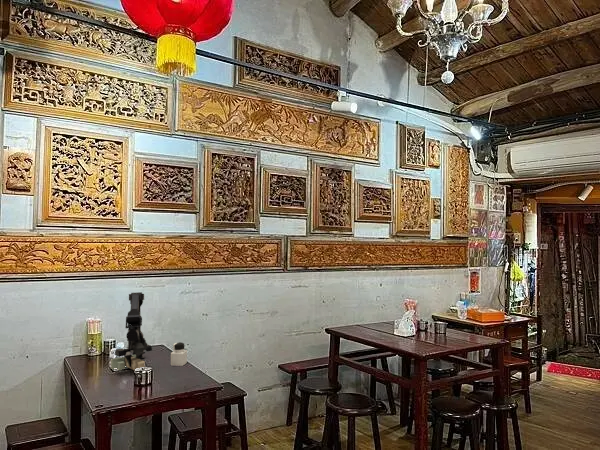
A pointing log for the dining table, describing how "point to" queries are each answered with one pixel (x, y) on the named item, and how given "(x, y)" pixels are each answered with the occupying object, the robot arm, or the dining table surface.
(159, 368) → the dining table surface
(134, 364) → the rail
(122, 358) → the grey block
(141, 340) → the robot arm
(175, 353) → the medicine bottle
